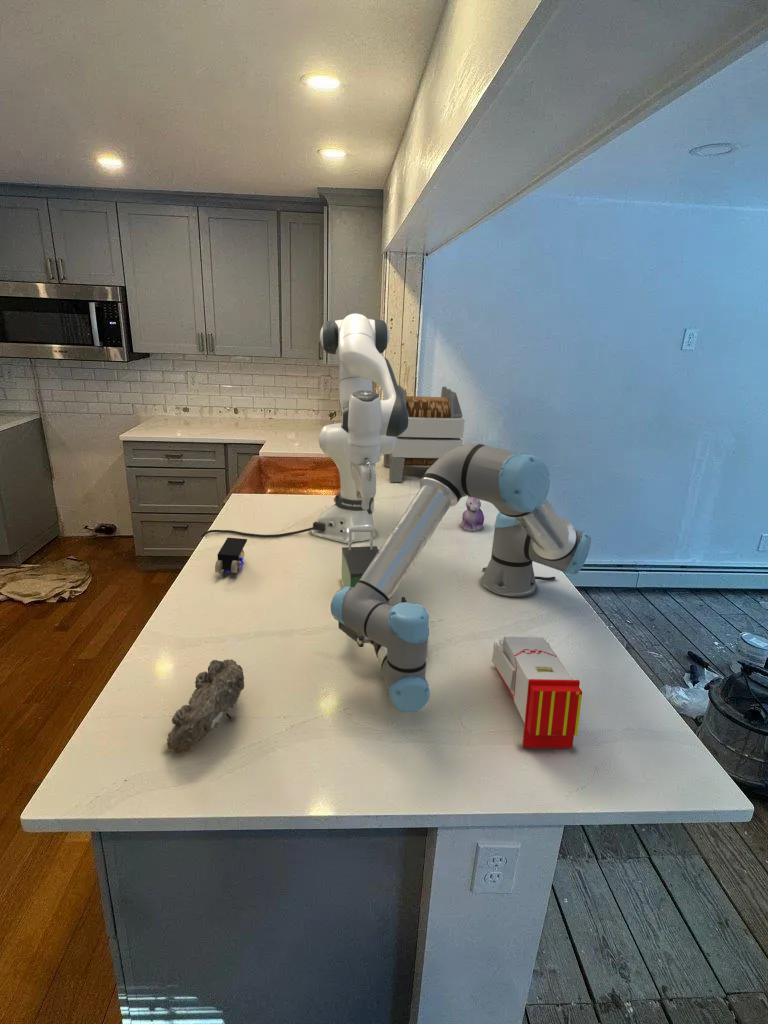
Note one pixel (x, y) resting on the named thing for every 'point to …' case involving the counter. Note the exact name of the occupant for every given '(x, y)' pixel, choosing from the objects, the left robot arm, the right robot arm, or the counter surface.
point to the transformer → (426, 432)
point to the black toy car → (230, 556)
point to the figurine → (472, 515)
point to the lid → (359, 552)
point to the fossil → (206, 705)
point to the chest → (347, 576)
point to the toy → (539, 691)
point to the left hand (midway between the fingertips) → (362, 503)
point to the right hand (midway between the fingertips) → (375, 603)
